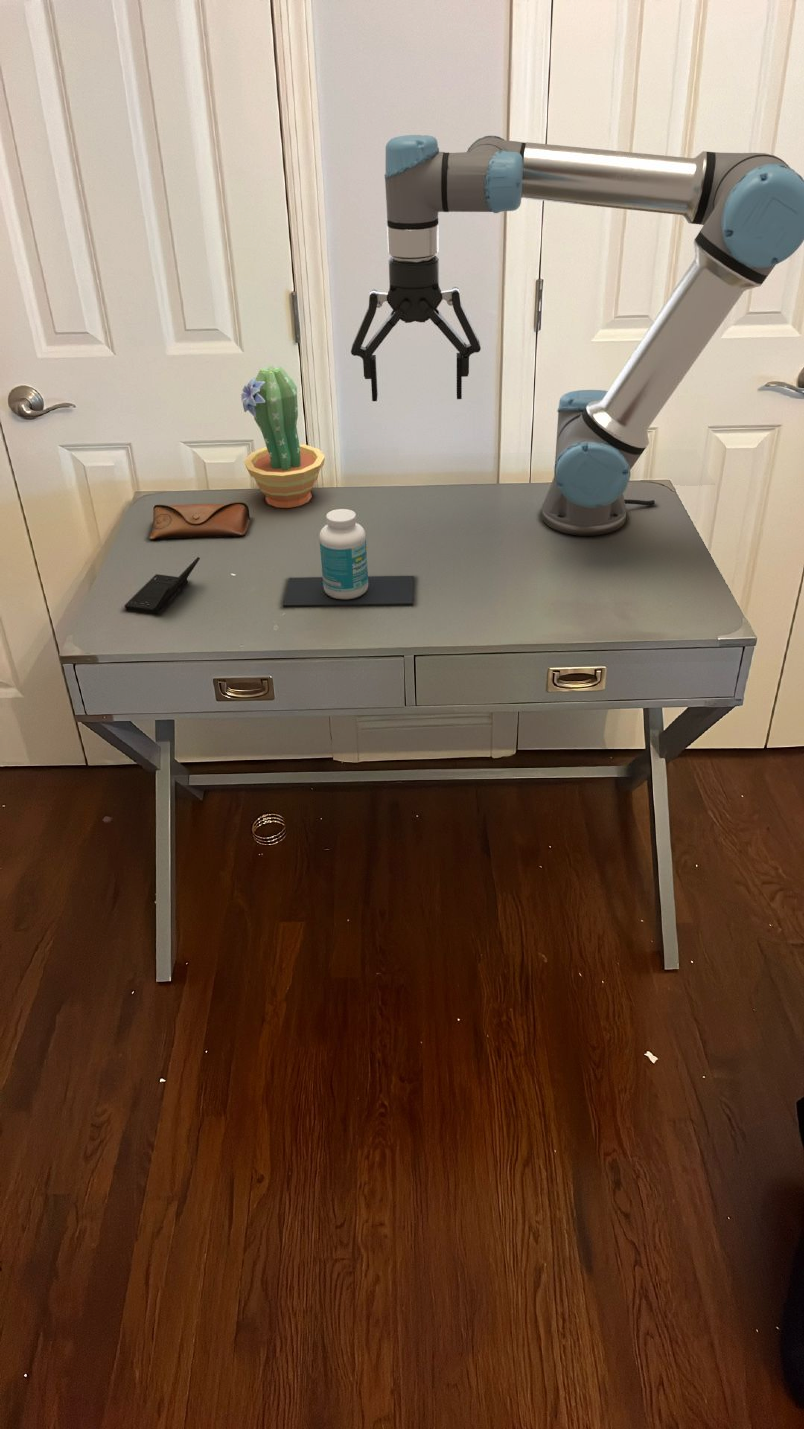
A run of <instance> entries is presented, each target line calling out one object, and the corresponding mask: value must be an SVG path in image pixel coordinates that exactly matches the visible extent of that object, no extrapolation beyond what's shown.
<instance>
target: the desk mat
mask: <svg viewBox="0 0 804 1429" xmlns="http://www.w3.org/2000/svg"><path fill="white" fill-rule="evenodd" d="M414 579H415V578H414V575H391V576H390V575H387V576H386V575H385V576H384V575H381V576H380V575H379V576H368V589H367V591H366V592H365V593H364V594H363V595H361V596H359V597H357V598H353V599H336V598H333V597H331V596H329V595H328V594H326V592H325V591H324V586H323V576H320V577H319V576H317V577H316V576H315V577H312V576H311V577H309V576H308V577H289V579H288V583H287V586H286V592H285V596H284V600H283V604H282V605H283V608H312V607H315V608H316V607H317V608H318V607H319V608H320V607H322V608H323V607H386V606H387V607H389V606H413V605H414Z"/></svg>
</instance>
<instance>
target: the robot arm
mask: <svg viewBox="0 0 804 1429" xmlns="http://www.w3.org/2000/svg"><path fill="white" fill-rule="evenodd" d="M384 162H385V165H384V166H385V167H384V168H385V173H384V183H385V184H384V185H385V202H386V219H387V220H386V224H387V225H386V232H387V233H386V234H387V236H386V237H387V253H388V255H389V256H391V257H390V258H389V260H388V283H389V289H388V291H387V292H384V291H383V292H381V291H378V290H377V289H374V288H373V289H371V290H370V292H369V298H368V307H367V309H366V312H365V314H364V317H363V319H362V321H361V324H360V326H359V328H358V331H357V333H356V335H355V337H354V340H353V343H352V344H351V349H350V354H351V355H352V356H355V357H356V356H357V357H358V358H359V357H360V359H362V367H363V368H362V369H363V378H364V379H365V380H370V384H371V385H370V387H371V401H372V402H378V396H379V393H378V375H377V374H378V372H377V355H376V354H374V353H375V352H376V351H377V349H378V348H379V347H380V345H381V344H382V343H383V341H384V340H385V339H386V337H387V336H388V335H389V334H390V332H391V331H392V330H393V328H394V327H396V325H397V324H398V323H399V321H402V322H403V323H405V324H409V323H410V324H411V323H414V322H417V323H426V322H427V321H429V320H430V321H431V322H432V323H433V324H434V325H435V326H436V327H437V328H438V329H439V330H440V331H441V333H442V334H443V335H444V336H445V337H446V339H448V341H449V342H450V343H451V345H452V346H453V347H454V348H455V349H456V351H457V352H456V400H462V399H463V398H462V397H463V394H462V393H463V391H462V388H463V386H462V385H463V384H462V382H463V378H464V377H465V378H466V377H469V374H470V356H471V355H473V354H475V353H480V351H481V348H482V347H481V341H480V339H479V338H478V336H477V333H476V331H475V329H474V327H473V325H472V323H471V321H470V319H469V317H468V314H467V313H466V310H465V309H464V306H463V305H462V302H461V294H460V289H459V287H457V286H453V287H452V288H451V289H448V290H442V289H441V287H440V259H439V257H438V256H437V254H439V251H440V248H439V247H440V246H439V244H440V241H439V240H440V238H439V236H440V235H439V231H440V230H439V213H493V214H499V213H501V212H515V211H517V210H519V208H520V207H521V204H522V199H523V200H533V201H543V202H551V203H552V202H553V203H562V204H572V205H579V206H580V205H581V206H590V207H599V208H600V207H601V208H608V209H609V208H611V209H620V210H630V211H639V212H648V213H657V214H658V213H659V214H668V215H677V216H683V217H684V219H685V220H686V222H687V223H688V224H691V225H700V226H702V227H701V229H700V230H699V232H698V233H697V235H696V236H695V238H694V240H693V248H694V254H695V255H694V259H693V261H692V262H691V263H690V265H689V267H688V268H687V270H686V271H685V272H684V274H683V276H682V277H681V279H680V280H679V282H678V284H677V285H676V286H675V288H674V289H673V290H672V292H671V294H670V295H669V297H668V298H667V300H666V302H665V303H664V305H663V306H662V307H661V309H660V310H659V312H658V314H657V315H656V317H655V319H654V320H653V322H652V323H651V324H650V326H649V328H648V329H647V330H646V332H645V333H644V335H643V336H642V338H641V340H640V342H639V343H638V344H637V346H636V348H634V350H633V352H632V354H630V357H629V358H628V360H627V361H626V363H625V364H624V366H623V367H622V369H621V370H620V371H619V373H618V375H617V377H616V378H615V380H614V381H613V383H612V384H611V385H610V387H609V388H608V390H605V389H580V390H572V391H568V392H566V393H564V394H563V395H562V396H561V397H560V398H559V402H558V408H557V410H556V412H557V426H556V443H555V456H554V457H555V459H554V470H553V472H554V474H553V478H552V481H551V483H550V486H549V488H548V490H547V493H546V494H545V495H546V496H545V498H544V501H543V503H542V506H541V520H542V521H543V523H544V524H546V525H547V527H549V528H551V529H553V530H555V531H557V532H560V533H563V534H566V535H567V534H568V535H572V536H581V537H583V536H584V537H590V536H591V537H592V536H601V535H605V534H606V535H607V534H610V533H612V532H615V531H617V530H619V529H621V528H622V527H623V525H624V524H625V523H626V518H627V506H626V505H640V506H653V505H655V503H656V502H655V500H654V499H652V500H642V499H641V500H639V499H625V498H624V494H625V492H626V490H627V488H628V485H629V482H630V479H631V476H632V474H631V470H632V468H633V467H634V466H635V464H636V463H637V462H638V460H639V459H640V457H641V456H642V454H644V452H645V450H646V449H647V448H648V446H649V444H650V440H649V433H648V429H649V428H650V426H651V425H652V424H653V422H654V421H655V419H656V418H657V417H658V415H659V414H660V413H661V411H662V409H664V406H665V405H666V404H667V402H668V400H669V399H670V398H671V397H672V396H673V394H674V392H675V391H676V390H677V388H678V387H679V385H680V383H681V382H682V381H683V379H684V378H685V376H686V375H687V374H688V373H689V371H690V369H691V368H692V366H694V363H695V362H696V361H697V360H698V358H699V357H700V355H701V354H702V352H703V351H704V349H706V346H707V345H708V343H709V342H710V341H711V339H712V338H713V336H715V334H716V332H717V331H718V330H719V328H720V326H722V324H723V322H724V321H725V319H726V318H727V317H728V316H729V314H730V313H731V312H732V309H733V308H734V307H735V305H736V304H737V303H738V301H739V299H740V298H741V296H742V295H743V294H744V292H746V291H747V290H751V289H755V288H758V287H761V286H763V284H764V282H765V280H766V279H767V278H768V276H769V275H770V274H771V273H772V271H773V269H775V267H776V265H778V264H780V263H783V262H784V261H785V260H788V259H789V258H790V257H791V256H792V255H794V254H795V252H796V251H798V249H799V248H800V247H801V245H802V244H803V243H804V178H803V176H802V175H800V174H799V173H798V172H797V171H796V170H794V168H791V167H790V165H789V164H787V163H786V162H785V161H784V160H783V159H782V158H780V157H778V156H777V155H773V154H770V153H766V152H718V151H717V152H716V151H706V150H705V151H704V150H703V151H701V152H700V153H699V154H698V155H696V156H695V157H683V156H674V155H673V156H672V155H664V154H663V155H661V154H652V153H642V152H633V151H621V150H612V149H611V150H610V149H601V148H600V149H599V148H589V147H581V146H580V147H579V146H568V145H558V144H548V143H540V142H539V143H538V142H528V141H526V142H523V141H517V140H506V139H504V138H503V137H501V136H497V135H484V136H483V137H480V138H478V139H476V140H475V141H474V142H472V144H470V146H469V147H468V149H467V151H464V152H463V151H462V152H461V151H460V152H446V151H440V148H439V143H438V139H437V138H436V137H435V136H433V135H428V134H425V135H423V134H408V135H399V136H395V137H392V138H391V139H390V140H389V141H387V143H386V144H385V161H384ZM443 300H444V301H446V303H447V305H448V306H452V308H453V311H454V314H455V316H456V318H457V320H458V322H459V324H460V326H461V328H462V330H463V333H464V334H465V336H466V339H467V340H468V342H469V343H468V344H467V343H466V342H465V341H464V339H463V337H461V335H460V334H459V333H458V332H457V331H456V330H455V329H454V327H452V325H451V324H450V323H449V322H448V321H447V319H446V318H445V317H444V316H443V314H442V312H441V311H440V310H439V309H438V307H439V306H440V304H441V303H442V302H443ZM386 302H387V304H388V305H389V307H390V308H391V309H392V310H391V312H390V313H389V314H388V316H387V318H386V319H385V320H384V322H383V323H382V324H381V325H380V327H379V328H378V329H377V331H376V332H375V334H374V335H373V336H372V337H371V339H370V340H369V342H367V344H366V345H365V346H363V343H364V341H365V339H366V336H367V335H368V332H369V329H370V328H371V325H372V323H373V320H374V318H375V316H376V313H377V309H380V308H382V307H383V303H386Z"/></svg>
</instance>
